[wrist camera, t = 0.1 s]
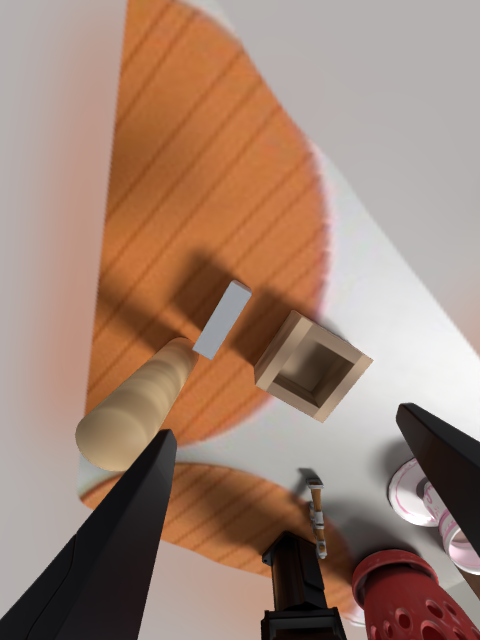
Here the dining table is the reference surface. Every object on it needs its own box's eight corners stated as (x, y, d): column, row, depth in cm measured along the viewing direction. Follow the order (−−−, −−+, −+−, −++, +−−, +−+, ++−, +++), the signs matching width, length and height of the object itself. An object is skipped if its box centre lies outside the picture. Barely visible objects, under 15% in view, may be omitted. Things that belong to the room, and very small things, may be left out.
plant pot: (371, 611, 33) (439, 796, 21) (327, 560, 31) (376, 734, 19) (451, 580, 31) (575, 766, 19) (410, 523, 29) (521, 693, 17)
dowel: (188, 375, 25) (128, 481, 12) (158, 359, 25) (65, 450, 12) (204, 348, 24) (158, 432, 12) (174, 331, 24) (90, 398, 11)
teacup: (496, 498, 28) (566, 562, 22) (410, 534, 30) (452, 601, 23) (461, 433, 26) (527, 482, 20) (370, 475, 28) (405, 532, 22)
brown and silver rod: (306, 533, 29) (317, 564, 24) (301, 468, 30) (309, 486, 26) (320, 533, 29) (332, 564, 24) (313, 467, 30) (324, 486, 26)
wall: (218, 342, 24) (211, 360, 19) (203, 333, 24) (192, 349, 19) (251, 289, 22) (252, 293, 18) (234, 279, 22) (231, 281, 17)
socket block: (310, 399, 25) (322, 423, 21) (253, 367, 24) (255, 385, 21) (352, 345, 23) (373, 360, 20) (292, 309, 23) (302, 316, 19)
